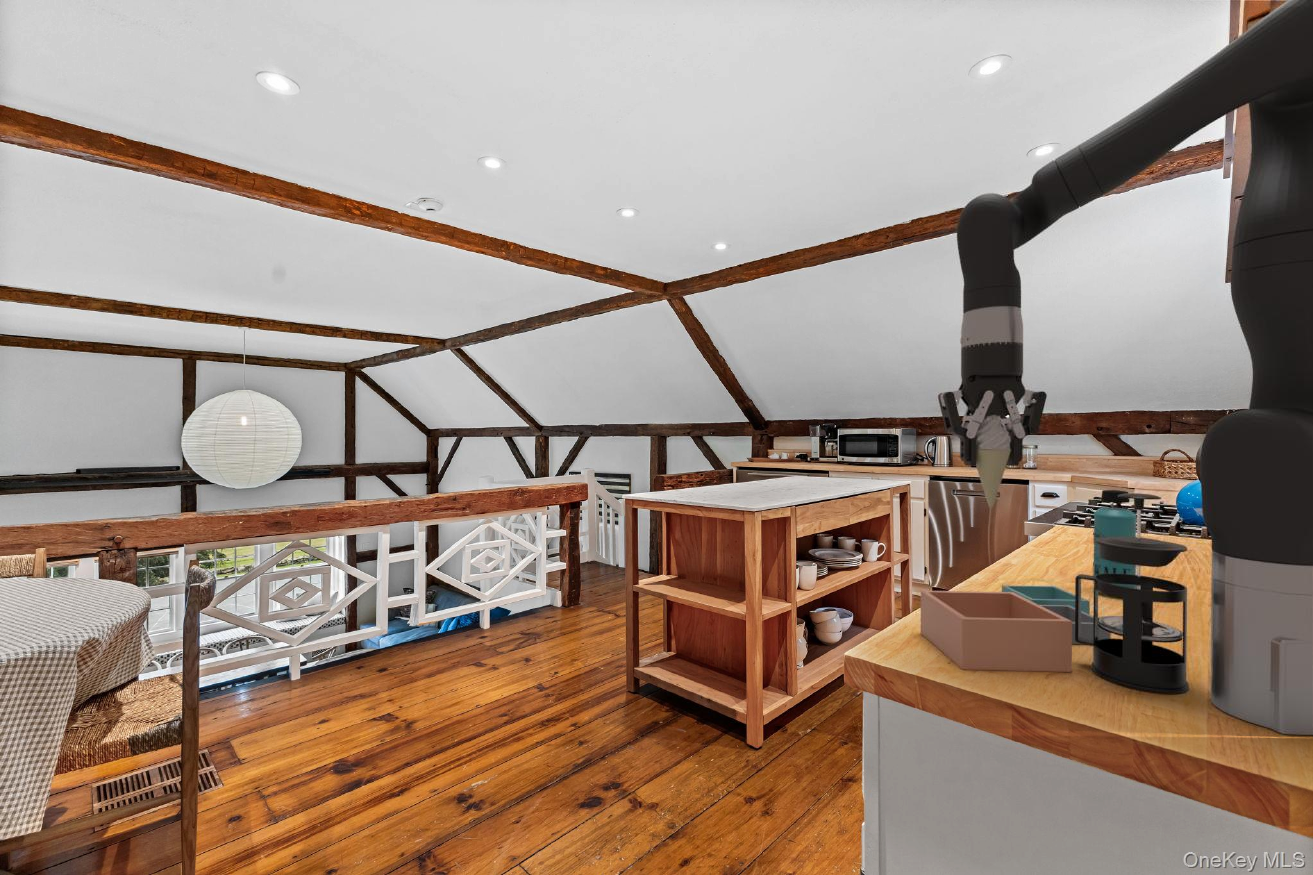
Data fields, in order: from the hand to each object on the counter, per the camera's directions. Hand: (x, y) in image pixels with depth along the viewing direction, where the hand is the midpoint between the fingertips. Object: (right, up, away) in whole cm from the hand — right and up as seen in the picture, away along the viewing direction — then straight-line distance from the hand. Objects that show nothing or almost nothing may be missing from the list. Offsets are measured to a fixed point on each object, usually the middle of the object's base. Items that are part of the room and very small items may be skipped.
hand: (991, 464), depth 81 cm
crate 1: (+20, -26, +19) cm, 38 cm away
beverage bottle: (+39, -26, +27) cm, 54 cm away
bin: (0, -26, 0) cm, 26 cm away
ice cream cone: (0, -6, 0) cm, 6 cm away
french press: (+13, -26, -8) cm, 30 cm away
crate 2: (+14, -26, +7) cm, 31 cm away
